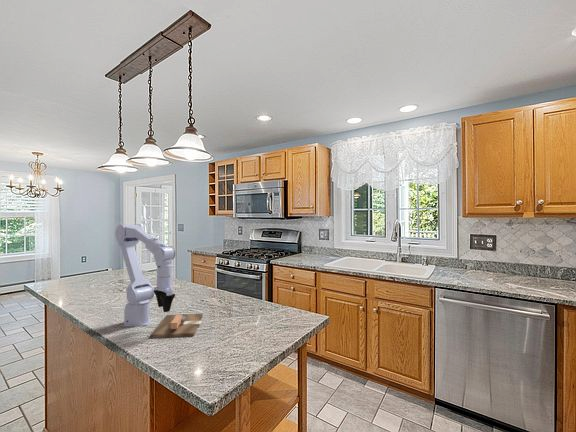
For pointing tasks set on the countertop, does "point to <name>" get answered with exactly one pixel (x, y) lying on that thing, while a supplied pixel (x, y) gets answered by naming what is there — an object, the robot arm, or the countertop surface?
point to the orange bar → (177, 321)
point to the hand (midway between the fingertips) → (163, 309)
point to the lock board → (183, 330)
